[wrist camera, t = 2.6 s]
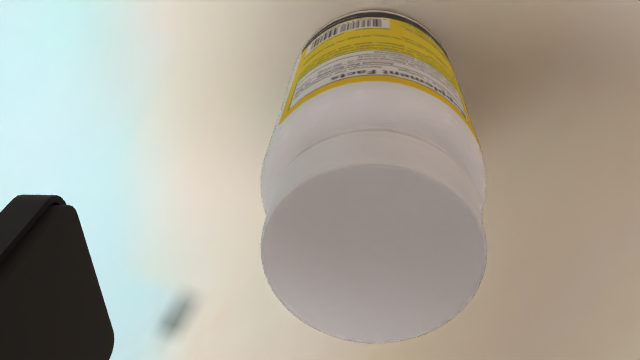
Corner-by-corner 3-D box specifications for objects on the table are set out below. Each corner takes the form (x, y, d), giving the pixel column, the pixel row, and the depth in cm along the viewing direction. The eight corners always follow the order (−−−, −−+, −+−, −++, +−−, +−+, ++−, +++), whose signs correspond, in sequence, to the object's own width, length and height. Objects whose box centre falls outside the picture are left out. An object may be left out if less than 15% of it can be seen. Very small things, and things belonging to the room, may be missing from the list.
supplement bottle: (398, 182, 19) (411, 394, 12) (266, 115, 18) (195, 299, 11) (487, 56, 17) (570, 224, 10) (341, -27, 16) (313, 89, 9)
